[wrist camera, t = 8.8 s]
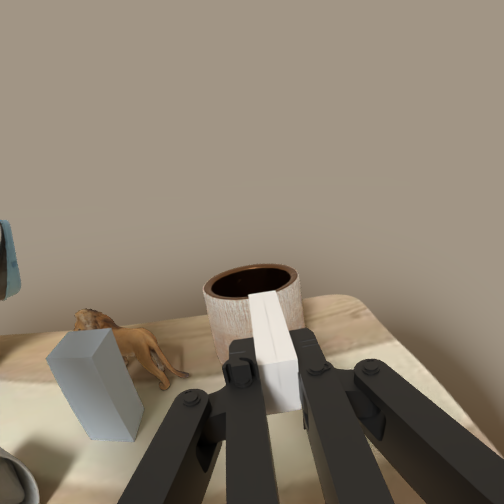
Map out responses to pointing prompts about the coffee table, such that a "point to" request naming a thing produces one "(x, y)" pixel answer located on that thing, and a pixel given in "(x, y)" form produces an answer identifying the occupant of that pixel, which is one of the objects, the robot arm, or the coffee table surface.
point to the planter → (237, 301)
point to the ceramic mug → (16, 481)
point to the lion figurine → (130, 343)
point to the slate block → (97, 384)
